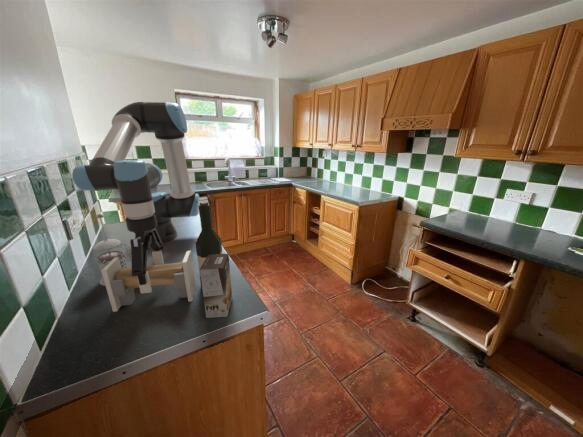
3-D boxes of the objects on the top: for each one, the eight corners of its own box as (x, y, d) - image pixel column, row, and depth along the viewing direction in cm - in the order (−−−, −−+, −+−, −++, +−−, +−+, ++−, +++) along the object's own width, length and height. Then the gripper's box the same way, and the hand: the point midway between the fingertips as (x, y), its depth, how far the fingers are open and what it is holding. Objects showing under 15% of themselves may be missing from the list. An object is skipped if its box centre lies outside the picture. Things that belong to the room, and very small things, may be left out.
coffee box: (228, 317, 70) (223, 268, 65) (205, 318, 69) (198, 269, 64) (232, 297, 78) (228, 253, 73) (212, 298, 78) (207, 253, 73)
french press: (93, 282, 86) (73, 216, 78) (124, 267, 97) (110, 207, 89) (111, 288, 83) (92, 220, 75) (142, 272, 93) (128, 210, 85)
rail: (125, 282, 76) (121, 268, 74) (186, 275, 80) (183, 262, 78) (119, 289, 72) (116, 275, 71) (183, 282, 76) (181, 268, 74)
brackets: (124, 295, 79) (114, 257, 75) (196, 286, 84) (190, 250, 79) (113, 311, 72) (101, 270, 67) (192, 301, 76) (186, 262, 72)
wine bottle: (203, 293, 80) (191, 207, 71) (199, 280, 87) (188, 201, 78) (227, 286, 84) (220, 204, 74) (222, 275, 91) (214, 198, 81)
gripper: (141, 205, 80) (153, 261, 86) (103, 232, 57) (123, 306, 63) (166, 203, 81) (175, 259, 88) (139, 229, 58) (154, 302, 65)
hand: (153, 279), depth 76 cm, fingers open, 13 cm apart
